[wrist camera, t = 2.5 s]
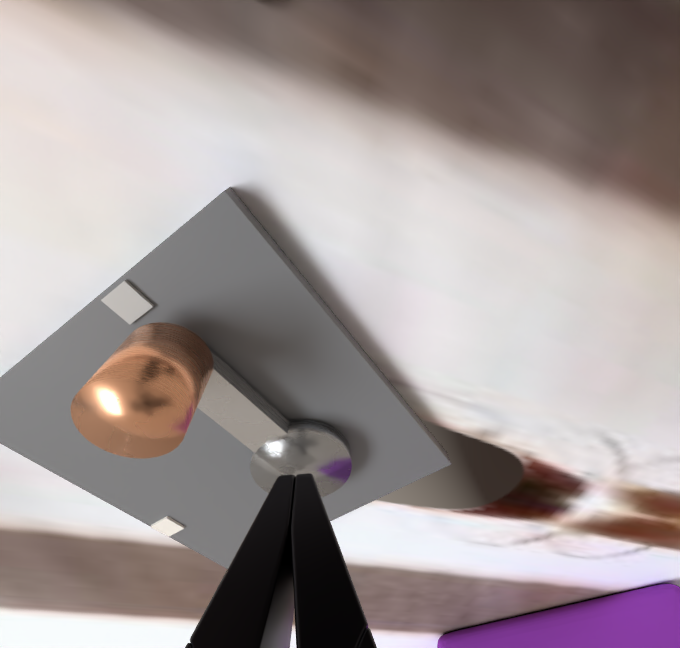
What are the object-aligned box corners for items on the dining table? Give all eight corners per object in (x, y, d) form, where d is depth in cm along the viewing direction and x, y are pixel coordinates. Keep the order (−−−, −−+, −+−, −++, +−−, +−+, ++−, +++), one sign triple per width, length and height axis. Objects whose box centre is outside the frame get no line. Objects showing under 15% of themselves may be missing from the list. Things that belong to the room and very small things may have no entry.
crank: (368, 460, 22) (381, 541, 18) (294, 497, 24) (289, 581, 19) (189, 284, 16) (140, 344, 11) (103, 351, 17) (29, 427, 13)
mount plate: (229, 186, 15) (223, 191, 14) (446, 451, 24) (452, 466, 23) (-32, 404, 20) (-50, 419, 19) (230, 555, 29) (227, 571, 28)
